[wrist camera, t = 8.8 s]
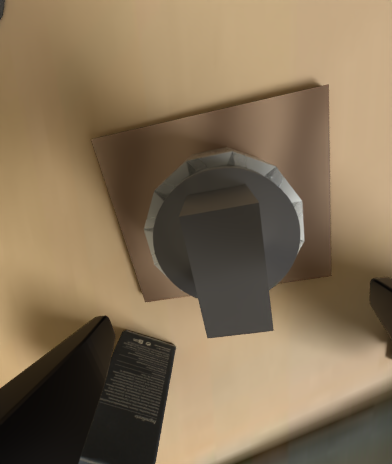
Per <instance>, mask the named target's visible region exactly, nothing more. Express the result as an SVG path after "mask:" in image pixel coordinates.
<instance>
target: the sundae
mask: <svg viewBox="0 0 392 464" xmlns="http://www.w3.org/2000/svg"><path fill="white" fill-rule="evenodd" d="M4 2H5V0H0V20H1V18H2V16H3V10H4Z"/></svg>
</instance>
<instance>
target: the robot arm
mask: <svg viewBox="0 0 392 464" xmlns="http://www.w3.org/2000/svg"><path fill="white" fill-rule="evenodd" d="M369 301H370V305H371V307H372V309H373V310H374V312H375V314H376V315H377V317H378V318H379V320H380V322H381V323H382V325H383V326H384V328H385V330H386V331H387V333H388V334H389V336H390V338H391V339H392V278H389V277H380V278H373V279H372V280H371V282H370V296H369ZM114 343H115V332H114V329H113V327H112V324H111V322H110V320H109V318H108V316H98V317H95V318H93V319H92V320H91V321H89V322H88V323H87V324H85V325H84V326H83V327H81V328H80V329H79V330H77V331H76V332H75V333H73V334H72V335H71V336H69V337H68V338H67V339H65V340H64V341H63V342H61V343H60V344H59V345H57V346H56V347H55V348H53V349H52V350H51V351H49V352H48V353H47V354H45V355H44V356H43V357H41V358H40V359H39V360H37V361H36V362H35V363H33V364H32V365H31V366H29V367H28V368H27V369H25V370H24V371H23V372H22V373H20V374H19V375H18V376H16V377H15V378H14V379H12V380H11V381H10V382H8V383H7V384H6V385H4V386H3V387H2V388H0V464H78V463H79V460H80V457H81V454H82V451H83V448H84V445H85V442H86V439H87V436H88V433H89V430H90V427H91V424H92V421H93V418H94V415H95V412H96V409H97V406H98V403H99V400H100V397H101V394H102V391H103V388H104V385H105V381H106V377H107V373H108V369H109V365H110V360H111V356H112V351H113V347H114Z"/></svg>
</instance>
